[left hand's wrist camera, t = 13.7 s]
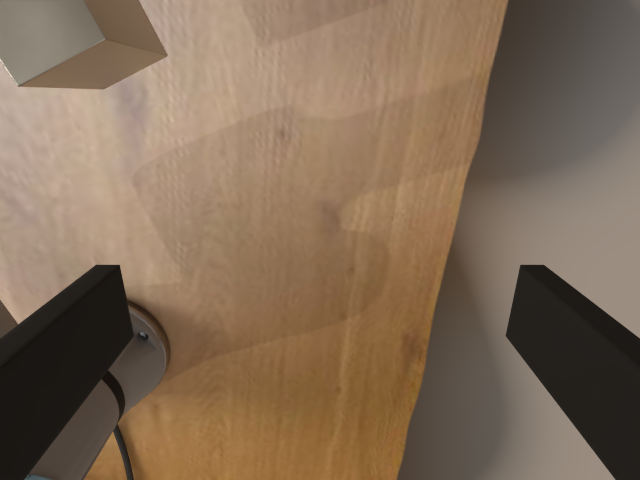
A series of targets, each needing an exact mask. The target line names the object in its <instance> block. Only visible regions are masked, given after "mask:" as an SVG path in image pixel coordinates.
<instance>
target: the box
mask: <svg viewBox="0 0 640 480" xmlns="http://www.w3.org/2000/svg"><path fill="white" fill-rule="evenodd" d="M167 56H168V55H167V53H166V51H165V49H164V47H163V45H162V43H161V42H160V40H159V38H158V36H157V34H156V32H155V30H154V28H153V26H152V24H151V23H150V21H149V19H148V17H147V15H146V13H145V11H144V9H143V7H142V5H141V4H140V2H139V0H0V61H1V62H2V63H3V65H4V66H5V68H6V69H7V71H8V72H9V74H10V75H11V77H12V78H13V80H14V81H15V83H16V84H17V86H19V87H48V88H77V89H105V88H107V87H109V86H111V85H113V84H115V83H117V82H119V81H121V80H123V79H125V78H126V77H128V76H130V75H132V74H134V73H136V72H138V71H140V70H142V69H144V68H146V67H148V66H150V65H152V64H153V63H155V62H157V61H159V60H161V59H163V58H165V57H167Z"/></svg>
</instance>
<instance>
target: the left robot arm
mask: <svg viewBox="0 0 640 480" xmlns="http://www.w3.org/2000/svg"><path fill="white" fill-rule="evenodd" d="M506 337H507V338H508V340H509V341H510V342H511V343H512V345H513V346H514V347H515V349H516V350H517V351H518V353H519V354H520V355H521V357H522V358H523V359H524V360H525V362H526V363H527V364H528V366H529V367H530V368H531V370H532V371H533V372H534V374H535V375H536V376H537V377H538V379H539V380H540V381H541V383H542V384H543V385H544V387H545V388H546V389H547V391H548V392H549V393H550V394H551V396H552V397H553V398H554V400H555V401H556V402H557V404H558V405H559V406H560V408H561V409H562V410H563V411H564V413H565V414H566V415H567V417H568V418H569V419H570V421H571V422H572V423H573V424H574V426H575V427H576V428H577V430H578V431H579V432H580V434H581V435H582V436H583V438H584V439H585V440H586V442H587V443H588V444H589V445H590V447H591V448H592V449H593V451H594V452H595V453H596V455H597V456H598V457H599V459H600V460H601V461H602V462H603V464H604V465H605V466H606V468H607V469H608V470H609V472H610V473H611V474H612V475H613V477H614V478H615V479H616V480H640V338H638V337H637V336H636V335H634V334H633V333H632V332H631V331H629V330H628V329H627V328H625V327H624V326H623V325H621V324H620V323H619V322H618V321H616V320H615V319H614V318H612V317H611V316H610V315H608V314H607V313H606V312H605V311H603V310H602V309H601V308H599V307H598V306H597V305H595V304H594V303H593V302H591V301H590V300H589V299H588V298H586V297H585V296H584V295H582V294H581V293H580V292H578V291H577V290H576V289H575V288H573V287H572V286H571V285H569V284H568V283H567V282H565V281H564V280H563V279H561V278H560V277H559V276H558V275H556V274H555V273H554V272H552V271H551V270H550V269H548V268H547V267H546V266H545V265H520V270H519V275H518V279H517V284H516V289H515V294H514V299H513V303H512V308H511V313H510V318H509V323H508V327H507V332H506ZM169 361H170V346H169V342H168V339H167V337H166V334H165V333H164V331H163V329H162V328H161V326H160V325H159V324H158V322H157V321H156V320H155V319H154V318H153V317H152V316H151V315H150V314H149V313H147V312H146V311H145V310H143V309H142V308H140V307H139V306H137V305H135V304H133V303H131V302H129V301H127V299H126V294H125V289H124V284H123V279H122V274H121V270H120V265H95V266H94V267H93V268H92V269H90V270H89V271H88V272H86V273H85V274H84V275H82V276H81V277H80V278H78V279H77V280H76V281H75V282H73V283H72V284H71V285H69V286H68V287H67V288H65V289H64V290H63V291H62V292H60V293H59V294H58V295H56V296H55V297H54V298H52V299H51V300H50V301H49V302H47V303H46V304H45V305H43V306H42V307H41V308H39V309H38V310H37V311H35V312H34V313H33V314H32V315H30V316H29V317H28V318H26V319H25V320H24V321H22V322H21V323H20V324H19V325H18V323H17V322H16V321H15V319H14V318H13V317H12V315H11V314H10V313H9V311H8V310H7V308H6V307H5V306H4V304H3V303H2V302H1V300H0V480H84V479H85V477H86V475H87V474H88V472H89V470H90V469H91V467H92V465H93V464H94V462H95V460H96V458H97V457H98V455H99V453H100V452H101V450H102V448H103V447H104V445H105V443H106V442H107V440H108V438H109V437H110V435H111V434H112V432H114V435H115V438H116V440H117V443H118V446H119V449H120V452H121V455H122V458H123V461H124V465H125V470H126V475H127V480H134V479H133V474H132V469H131V464H130V460H129V456H128V453H127V450H126V447H125V444H124V441H123V438H122V436H121V433H120V430H119V427H118V424H117V423H118V422H119V420H120V419H121V417H122V415H124V414H125V413H126V412H127V411H128V410H130V409H131V408H132V407H133V406H135V405H136V404H137V403H138V402H139V401H141V400H142V399H143V398H144V397H145V396H147V395H148V394H149V393H150V392H151V391H152V390H153V389H155V388H156V386H157V385H158V384H159V382H160V381H161V379H162V377H163V376H164V374H165V372H166V370H167V368H168V365H169Z"/></svg>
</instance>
